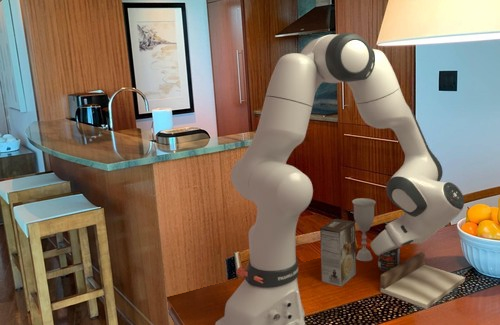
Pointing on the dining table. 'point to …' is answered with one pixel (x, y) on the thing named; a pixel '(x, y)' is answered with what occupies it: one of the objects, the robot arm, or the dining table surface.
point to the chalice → (364, 223)
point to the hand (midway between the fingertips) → (387, 249)
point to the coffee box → (338, 252)
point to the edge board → (418, 282)
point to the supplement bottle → (389, 260)
